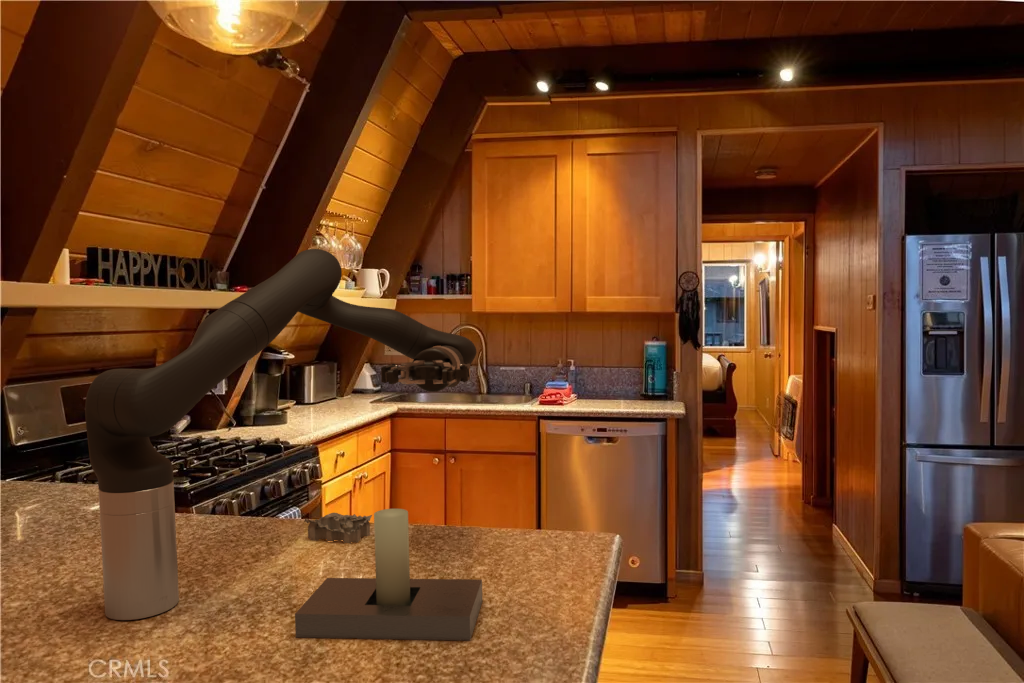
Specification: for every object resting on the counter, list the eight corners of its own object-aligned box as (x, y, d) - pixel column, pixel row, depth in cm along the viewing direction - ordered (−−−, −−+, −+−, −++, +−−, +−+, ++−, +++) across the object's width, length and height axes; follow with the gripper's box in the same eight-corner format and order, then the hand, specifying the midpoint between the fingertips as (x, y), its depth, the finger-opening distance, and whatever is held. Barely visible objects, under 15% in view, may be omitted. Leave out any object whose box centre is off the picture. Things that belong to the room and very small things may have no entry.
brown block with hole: (295, 637, 91) (294, 614, 91) (327, 598, 103) (327, 577, 103) (470, 640, 89) (469, 616, 89) (482, 600, 101) (481, 579, 101)
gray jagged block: (301, 541, 130) (300, 519, 129) (326, 529, 137) (325, 507, 136) (353, 547, 126) (352, 523, 126) (376, 533, 133) (375, 511, 133)
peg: (370, 617, 96) (367, 513, 96) (398, 608, 99) (395, 506, 99) (388, 628, 93) (385, 520, 92) (417, 618, 96) (414, 513, 95)
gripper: (396, 347, 130) (371, 353, 113) (476, 346, 128) (462, 352, 112) (398, 389, 130) (373, 401, 114) (477, 388, 129) (463, 400, 113)
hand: (417, 377), depth 113 cm, fingers open, 8 cm apart
